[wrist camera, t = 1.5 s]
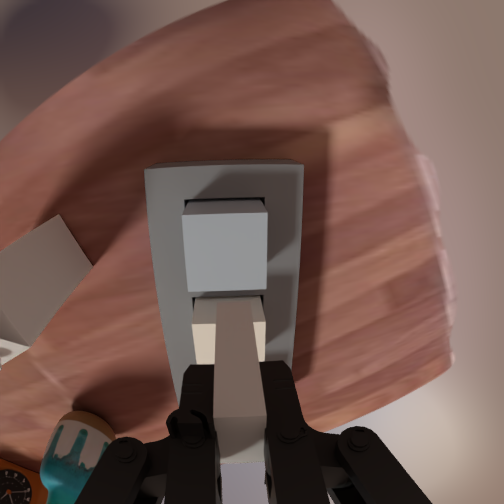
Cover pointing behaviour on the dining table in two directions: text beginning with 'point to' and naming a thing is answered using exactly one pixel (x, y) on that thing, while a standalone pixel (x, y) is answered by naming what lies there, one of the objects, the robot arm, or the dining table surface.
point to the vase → (73, 455)
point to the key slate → (225, 244)
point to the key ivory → (207, 325)
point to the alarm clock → (20, 485)
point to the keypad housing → (173, 257)
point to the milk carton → (36, 283)
